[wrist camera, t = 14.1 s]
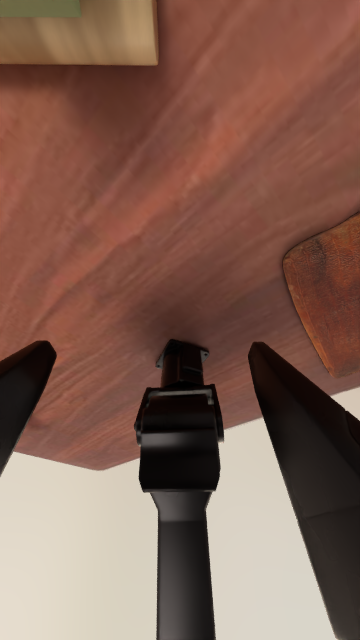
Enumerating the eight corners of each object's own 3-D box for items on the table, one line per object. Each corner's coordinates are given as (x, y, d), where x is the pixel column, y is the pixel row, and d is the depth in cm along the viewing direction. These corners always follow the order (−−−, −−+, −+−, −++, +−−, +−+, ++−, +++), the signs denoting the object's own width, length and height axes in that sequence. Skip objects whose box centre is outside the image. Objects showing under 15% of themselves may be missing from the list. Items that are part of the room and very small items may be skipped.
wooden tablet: (272, 256, 19) (279, 262, 17) (393, 184, 15) (413, 184, 14) (323, 379, 32) (329, 387, 30) (394, 356, 28) (405, 365, 27)
